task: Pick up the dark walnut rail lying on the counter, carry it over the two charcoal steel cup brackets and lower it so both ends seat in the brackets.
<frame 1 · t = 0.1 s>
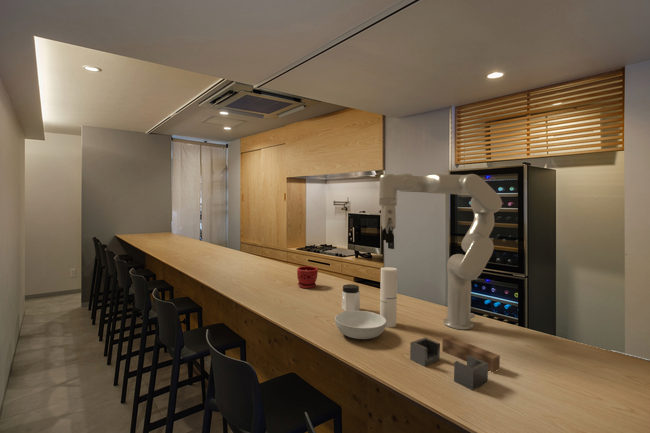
hand: (387, 241, 149), 37 cm above the table, tool pointing down, fingers open, 9 cm apart
jar: (350, 310, 171), on the table
cylindrical container: (387, 324, 151), on the table
plant pot: (307, 286, 216), on the table
bracket 2: (468, 380, 103), on the table
serving bowl: (360, 335, 139), on the table
walnut rail: (469, 360, 117), on the table
bracket 1: (426, 360, 117), on the table
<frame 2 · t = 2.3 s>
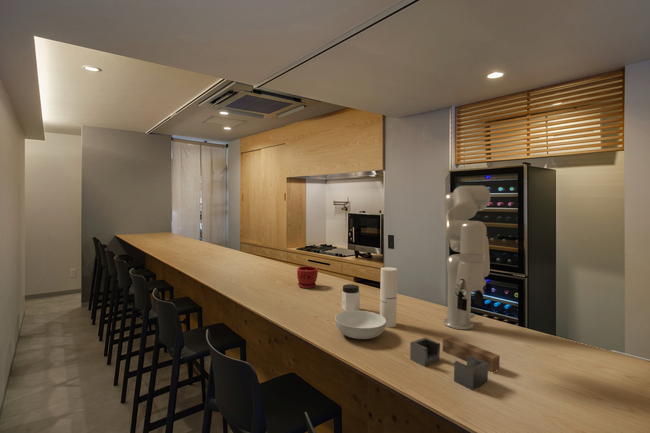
hand: (470, 307, 117), 18 cm above the table, tool pointing down, fingers open, 9 cm apart
nothing on the table moved.
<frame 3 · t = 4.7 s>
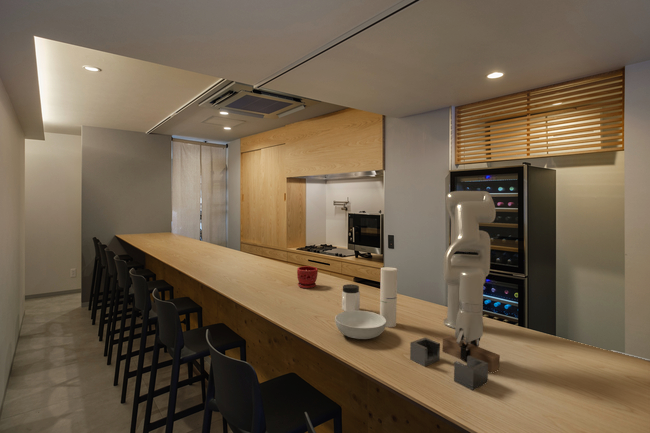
hand: (469, 358, 117), 1 cm above the table, tool pointing down, fingers closed on walnut rail, 4 cm apart
walnut rail: (469, 360, 117), on the table, touching gripper
everything else where it was.
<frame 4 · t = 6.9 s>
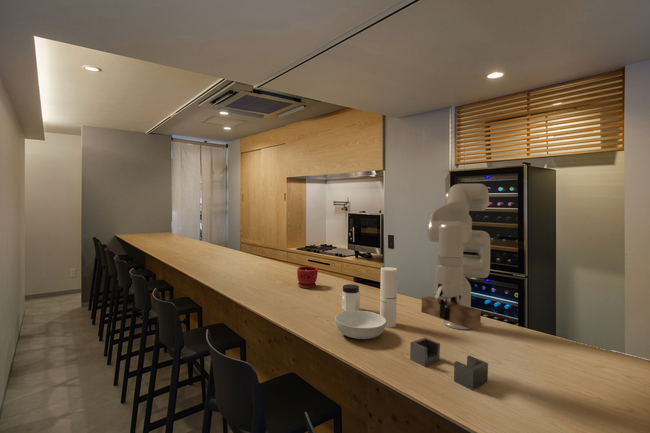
hand: (448, 316, 110), 18 cm above the table, tool pointing down, fingers closed on walnut rail, 4 cm apart
walnut rail: (449, 318, 110), point 17 cm above the table, touching gripper
everything else where it was.
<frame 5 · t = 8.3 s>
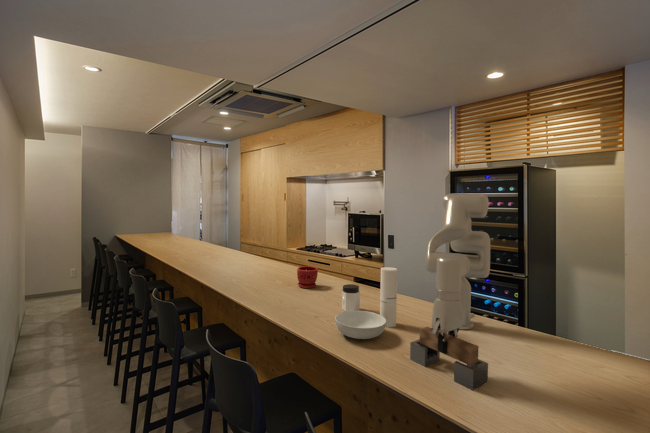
hand: (446, 349, 110), 7 cm above the table, tool pointing down, fingers closed on walnut rail, 4 cm apart
walnut rail: (447, 352, 110), point 6 cm above the table, touching gripper
everything else where it was.
when the fingers open (3 cm above the table, at t = 9.3 s): walnut rail stays where it is, resting on bracket 2, bracket 1.
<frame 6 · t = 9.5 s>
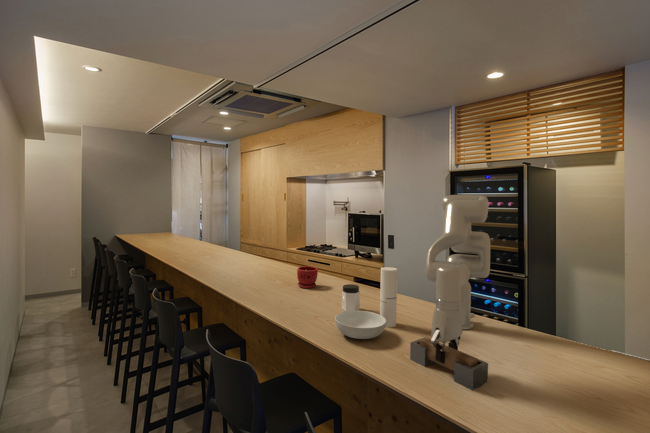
hand: (446, 358, 110), 4 cm above the table, tool pointing down, fingers open, 6 cm apart
walnut rail: (446, 364, 110), point 2 cm above the table, touching bracket 2, bracket 1
everything else where it was.
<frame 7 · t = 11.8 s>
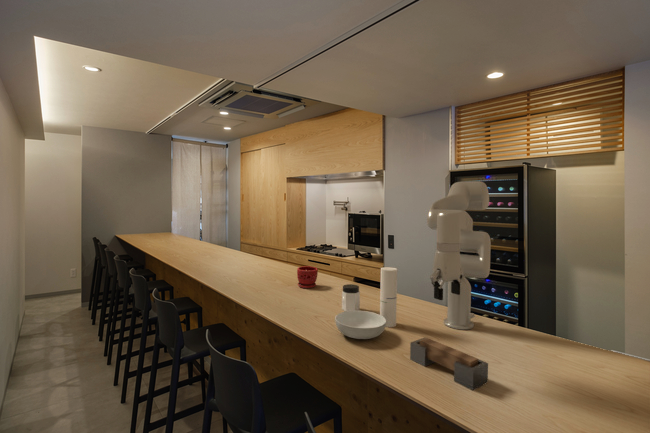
hand: (447, 296, 117), 22 cm above the table, tool pointing down, fingers open, 9 cm apart
nothing on the table moved.
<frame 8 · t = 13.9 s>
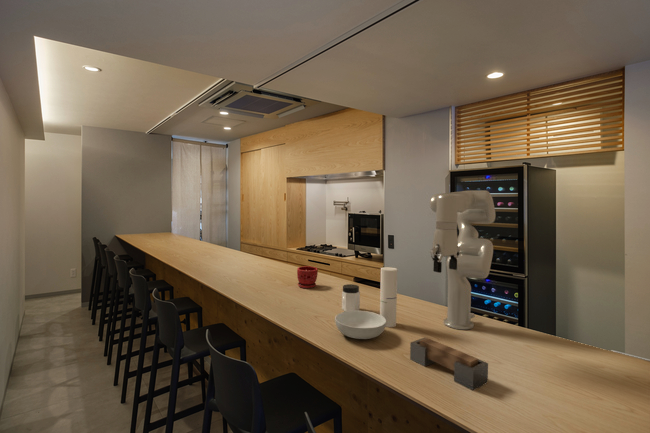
hand: (445, 270, 131), 28 cm above the table, tool pointing down, fingers open, 9 cm apart
nothing on the table moved.
at the end: walnut rail 0.2 cm from the target spot, point 2.0 cm above the table; walnut rail tilted 0°; the gripper is holding nothing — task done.
